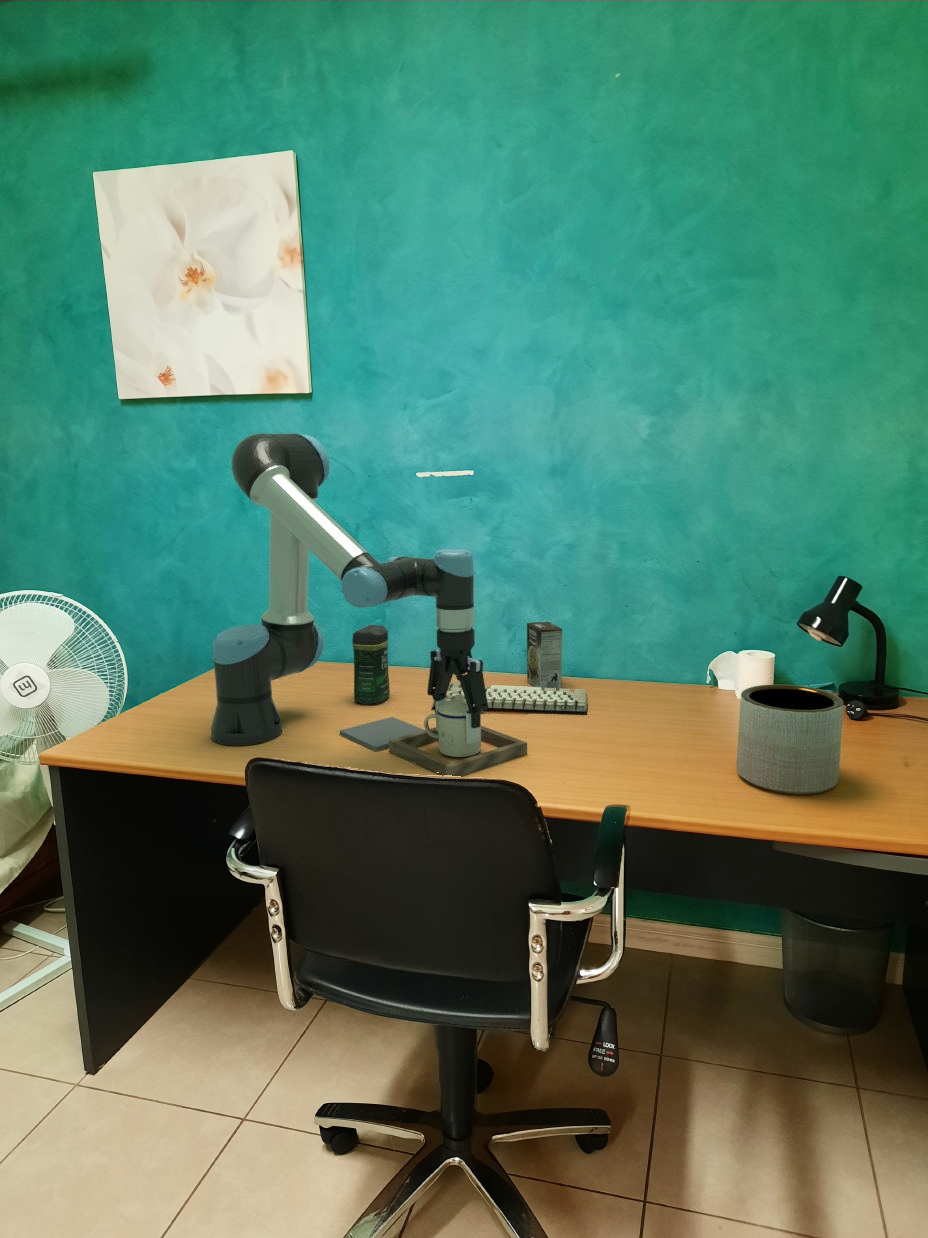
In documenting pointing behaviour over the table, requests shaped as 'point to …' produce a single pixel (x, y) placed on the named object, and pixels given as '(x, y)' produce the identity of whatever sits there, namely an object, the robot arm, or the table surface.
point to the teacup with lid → (453, 728)
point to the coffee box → (544, 655)
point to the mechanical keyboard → (528, 700)
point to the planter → (789, 738)
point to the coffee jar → (371, 664)
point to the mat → (379, 732)
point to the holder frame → (506, 752)
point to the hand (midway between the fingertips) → (457, 736)
